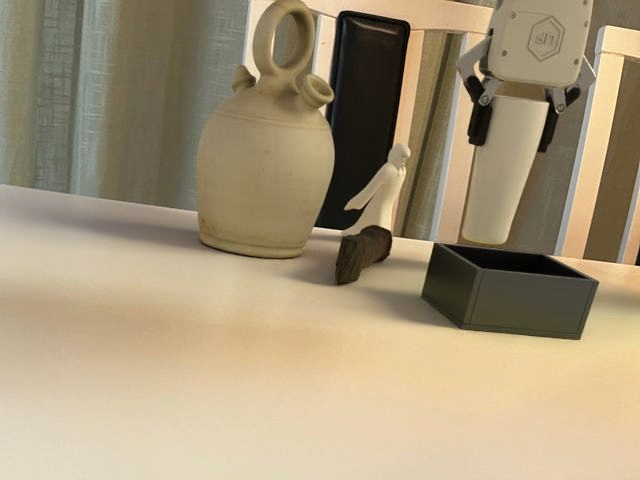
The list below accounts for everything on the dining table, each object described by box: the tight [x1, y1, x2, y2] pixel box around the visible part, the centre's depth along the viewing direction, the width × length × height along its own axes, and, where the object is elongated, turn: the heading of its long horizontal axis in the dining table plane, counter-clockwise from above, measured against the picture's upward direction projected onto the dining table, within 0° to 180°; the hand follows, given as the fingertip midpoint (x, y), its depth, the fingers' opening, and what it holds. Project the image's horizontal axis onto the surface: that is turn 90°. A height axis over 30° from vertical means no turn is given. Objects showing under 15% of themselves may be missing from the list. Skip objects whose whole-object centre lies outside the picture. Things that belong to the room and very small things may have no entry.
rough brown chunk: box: [334, 225, 393, 284], centre depth 111 cm, size 19×4×5 cm, turn 156°
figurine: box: [339, 142, 411, 237], centre depth 127 cm, size 8×8×12 cm
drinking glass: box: [461, 94, 549, 245], centre depth 116 cm, size 7×7×15 cm
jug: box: [195, 0, 336, 259], centre depth 112 cm, size 15×16×25 cm
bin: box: [420, 241, 600, 341], centre depth 100 cm, size 12×12×6 cm
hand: (506, 146), depth 114 cm, fingers closed on drinking glass, 6 cm apart
